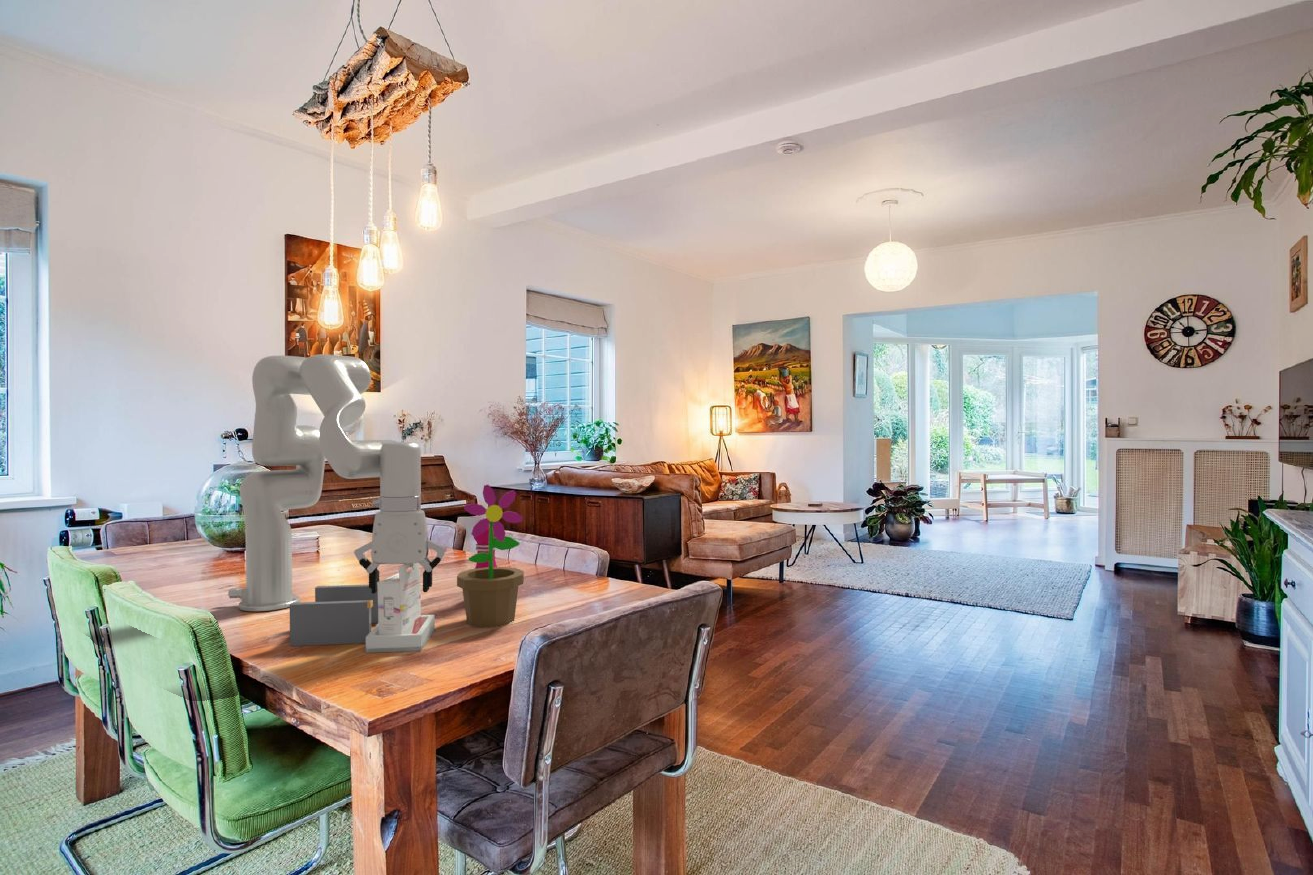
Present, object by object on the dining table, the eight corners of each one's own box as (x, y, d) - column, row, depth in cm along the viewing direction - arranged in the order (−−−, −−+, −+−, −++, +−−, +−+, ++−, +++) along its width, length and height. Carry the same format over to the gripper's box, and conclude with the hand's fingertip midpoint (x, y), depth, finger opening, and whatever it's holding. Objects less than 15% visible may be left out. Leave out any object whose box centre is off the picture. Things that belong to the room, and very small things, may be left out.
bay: (290, 646, 135) (289, 604, 135) (318, 623, 151) (317, 585, 150) (370, 642, 137) (370, 602, 137) (390, 620, 153) (390, 583, 152)
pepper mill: (507, 597, 172) (507, 516, 172) (486, 604, 166) (485, 520, 166) (486, 594, 176) (486, 514, 176) (464, 600, 170) (464, 517, 170)
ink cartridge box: (398, 629, 143) (398, 557, 143) (421, 630, 143) (421, 558, 142) (376, 642, 135) (376, 566, 134) (401, 643, 134) (400, 566, 134)
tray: (365, 652, 131) (365, 637, 131) (384, 630, 145) (384, 616, 145) (421, 650, 132) (421, 634, 132) (434, 629, 146) (434, 614, 146)
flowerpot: (462, 633, 143) (461, 486, 143) (452, 615, 156) (451, 481, 156) (531, 625, 149) (531, 484, 148) (516, 608, 162) (516, 479, 161)
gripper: (348, 507, 133) (349, 597, 134) (442, 506, 136) (442, 594, 136) (360, 502, 141) (360, 587, 141) (449, 502, 143) (449, 585, 143)
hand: (400, 591), depth 139 cm, fingers open, 9 cm apart
